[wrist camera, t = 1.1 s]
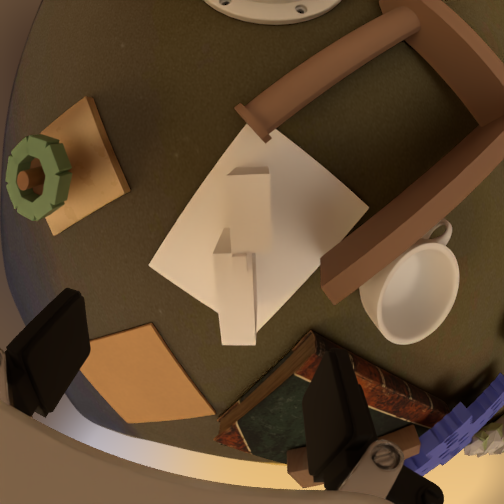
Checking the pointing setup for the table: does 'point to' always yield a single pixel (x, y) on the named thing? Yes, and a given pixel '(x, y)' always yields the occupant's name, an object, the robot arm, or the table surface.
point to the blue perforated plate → (456, 429)
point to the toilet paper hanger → (437, 177)
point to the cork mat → (143, 377)
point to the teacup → (414, 289)
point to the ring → (55, 176)
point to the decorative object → (487, 440)
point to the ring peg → (80, 166)
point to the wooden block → (402, 437)
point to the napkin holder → (256, 231)
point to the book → (291, 394)
